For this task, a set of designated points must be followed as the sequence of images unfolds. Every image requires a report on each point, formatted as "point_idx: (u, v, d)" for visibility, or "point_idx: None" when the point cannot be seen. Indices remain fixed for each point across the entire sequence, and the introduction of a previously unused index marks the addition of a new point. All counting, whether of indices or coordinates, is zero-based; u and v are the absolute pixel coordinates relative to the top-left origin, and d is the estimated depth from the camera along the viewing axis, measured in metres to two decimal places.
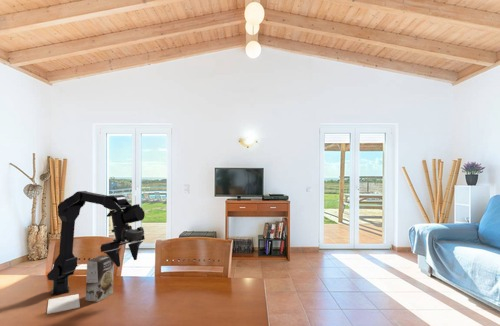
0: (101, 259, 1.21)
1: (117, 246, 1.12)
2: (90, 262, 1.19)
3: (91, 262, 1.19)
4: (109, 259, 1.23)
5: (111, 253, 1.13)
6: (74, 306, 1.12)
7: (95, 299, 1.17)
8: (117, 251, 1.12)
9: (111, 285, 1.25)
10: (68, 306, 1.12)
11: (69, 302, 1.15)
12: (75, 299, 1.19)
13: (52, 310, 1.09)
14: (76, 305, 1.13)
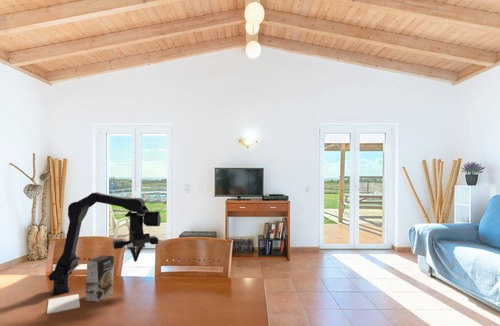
0: (101, 259, 1.21)
1: (121, 246, 1.24)
2: (90, 262, 1.19)
3: (91, 262, 1.19)
4: (109, 259, 1.23)
5: (131, 248, 1.30)
6: (74, 306, 1.12)
7: (95, 299, 1.17)
8: (132, 249, 1.27)
9: (111, 285, 1.25)
10: (68, 306, 1.12)
11: (69, 302, 1.15)
12: (75, 299, 1.19)
13: (52, 310, 1.09)
14: (76, 305, 1.13)
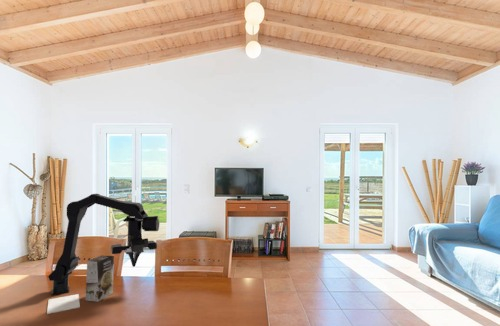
0: (101, 259, 1.21)
1: (119, 251, 1.24)
2: (90, 262, 1.19)
3: (91, 262, 1.19)
4: (109, 259, 1.23)
5: None
6: (74, 306, 1.12)
7: (95, 299, 1.17)
8: (130, 254, 1.27)
9: (111, 285, 1.25)
10: (68, 306, 1.12)
11: (69, 302, 1.15)
12: (75, 299, 1.19)
13: (52, 310, 1.09)
14: (76, 305, 1.13)
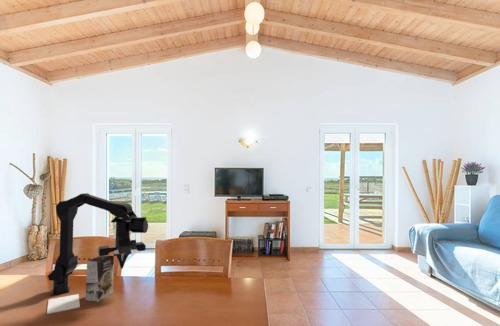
0: (101, 259, 1.21)
1: (106, 253, 1.21)
2: (90, 262, 1.19)
3: (91, 262, 1.19)
4: (109, 259, 1.23)
5: None
6: (74, 306, 1.12)
7: (95, 299, 1.17)
8: (118, 256, 1.24)
9: (111, 285, 1.25)
10: (68, 306, 1.12)
11: (69, 302, 1.15)
12: (75, 299, 1.19)
13: (52, 310, 1.09)
14: (76, 305, 1.13)
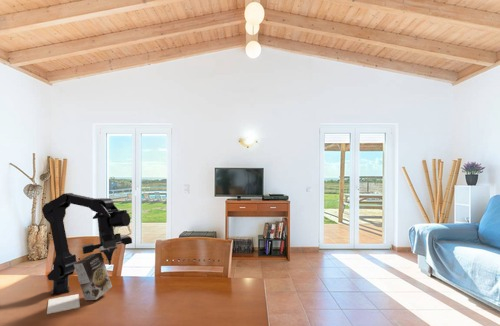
0: (87, 259, 1.18)
1: (91, 250, 1.18)
2: (76, 265, 1.16)
3: (77, 265, 1.16)
4: (96, 257, 1.20)
5: None
6: (74, 306, 1.12)
7: (93, 297, 1.17)
8: (105, 252, 1.21)
9: (107, 280, 1.23)
10: (68, 306, 1.12)
11: (69, 302, 1.15)
12: (75, 299, 1.19)
13: (52, 310, 1.09)
14: (76, 305, 1.13)
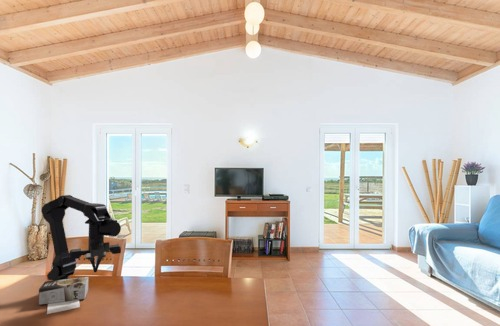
0: None
1: (77, 257, 1.16)
2: (40, 300, 1.13)
3: (40, 299, 1.13)
4: (45, 283, 1.19)
5: None
6: (74, 306, 1.12)
7: (83, 287, 1.19)
8: (91, 259, 1.19)
9: (78, 278, 1.25)
10: (68, 306, 1.12)
11: (69, 302, 1.15)
12: None
13: (52, 310, 1.09)
14: (76, 305, 1.13)
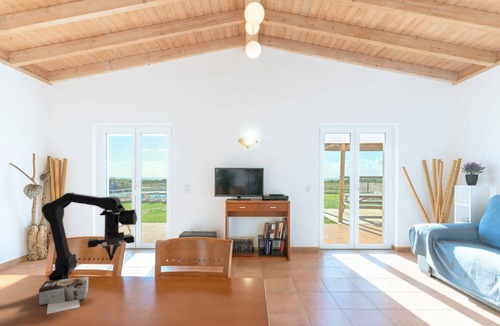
0: None
1: (95, 245, 1.24)
2: (40, 300, 1.13)
3: (40, 299, 1.13)
4: (45, 283, 1.19)
5: None
6: (74, 306, 1.12)
7: (83, 287, 1.19)
8: (107, 248, 1.27)
9: (78, 278, 1.25)
10: (68, 306, 1.12)
11: (69, 302, 1.15)
12: None
13: (52, 310, 1.09)
14: (76, 305, 1.13)
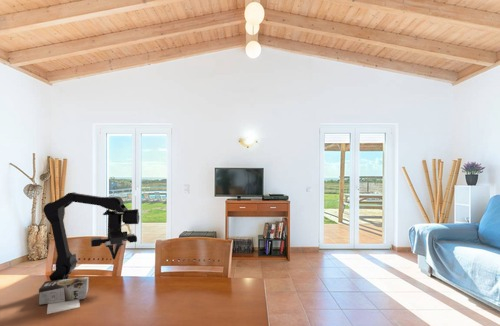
0: None
1: (98, 244, 1.26)
2: (40, 300, 1.13)
3: (40, 299, 1.13)
4: (45, 283, 1.19)
5: None
6: (74, 306, 1.12)
7: (83, 287, 1.19)
8: (110, 247, 1.29)
9: (78, 278, 1.25)
10: (68, 306, 1.12)
11: (69, 302, 1.15)
12: None
13: (52, 310, 1.09)
14: (76, 305, 1.13)
